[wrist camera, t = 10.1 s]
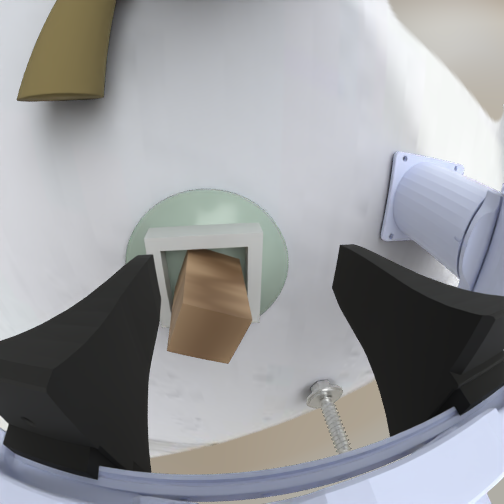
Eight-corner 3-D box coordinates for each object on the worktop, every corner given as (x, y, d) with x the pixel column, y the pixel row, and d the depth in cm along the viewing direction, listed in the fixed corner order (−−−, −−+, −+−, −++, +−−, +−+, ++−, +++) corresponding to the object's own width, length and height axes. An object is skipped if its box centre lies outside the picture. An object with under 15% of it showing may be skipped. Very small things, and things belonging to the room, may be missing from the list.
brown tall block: (239, 259, 21) (252, 320, 15) (221, 298, 23) (228, 363, 17) (189, 243, 20) (182, 303, 14) (175, 286, 22) (167, 350, 16)
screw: (332, 369, 31) (340, 384, 34) (297, 385, 32) (308, 399, 34) (369, 458, 20) (373, 463, 22) (325, 476, 21) (335, 479, 23)
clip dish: (292, 186, 20) (302, 196, 18) (280, 322, 26) (286, 340, 24) (114, 195, 18) (104, 206, 16) (144, 330, 24) (140, 348, 22)
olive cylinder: (42, 91, 8) (107, -73, 4) (4, 103, 10) (50, -37, 5) (122, 97, 14) (164, -39, 9) (70, 101, 15) (105, -18, 11)
